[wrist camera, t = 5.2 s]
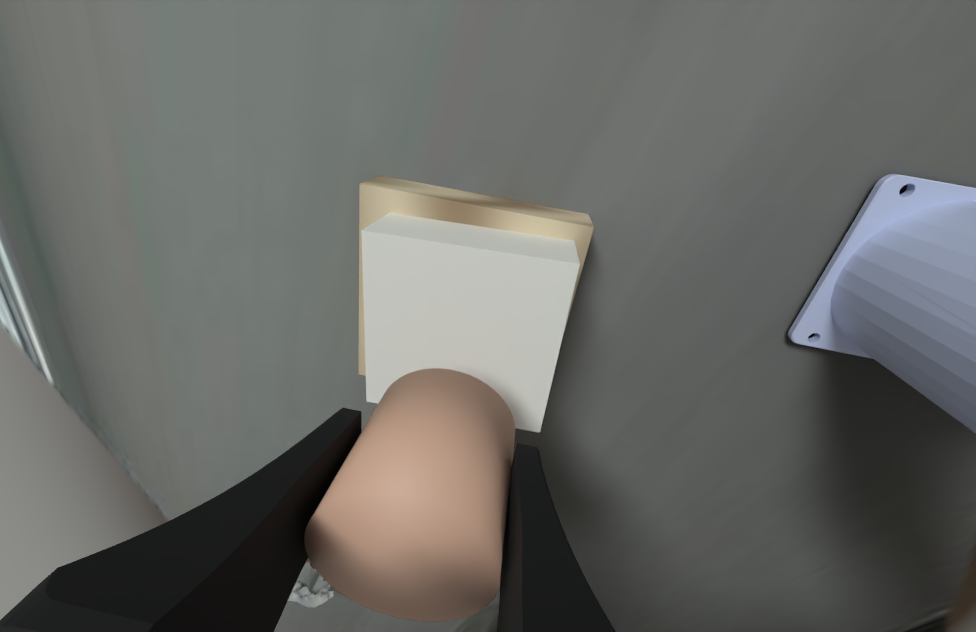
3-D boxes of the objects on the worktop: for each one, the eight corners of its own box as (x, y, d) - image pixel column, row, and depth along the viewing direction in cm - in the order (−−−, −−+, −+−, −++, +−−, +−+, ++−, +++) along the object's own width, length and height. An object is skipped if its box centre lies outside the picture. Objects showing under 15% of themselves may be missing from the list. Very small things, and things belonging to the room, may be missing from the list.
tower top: (574, 240, 17) (579, 263, 14) (540, 391, 20) (539, 432, 18) (389, 212, 17) (361, 230, 14) (389, 365, 21) (366, 401, 18)
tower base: (586, 212, 19) (594, 227, 16) (541, 378, 24) (541, 412, 21) (385, 174, 19) (359, 183, 17) (379, 345, 24) (358, 374, 21)
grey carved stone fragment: (331, 511, 32) (304, 563, 28) (350, 569, 35) (328, 622, 31) (211, 502, 33) (170, 549, 29) (241, 558, 36) (207, 607, 33)
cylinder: (544, 424, 14) (543, 572, 9) (463, 494, 16) (430, 641, 11) (424, 341, 13) (359, 462, 8) (356, 427, 15) (275, 559, 10)
